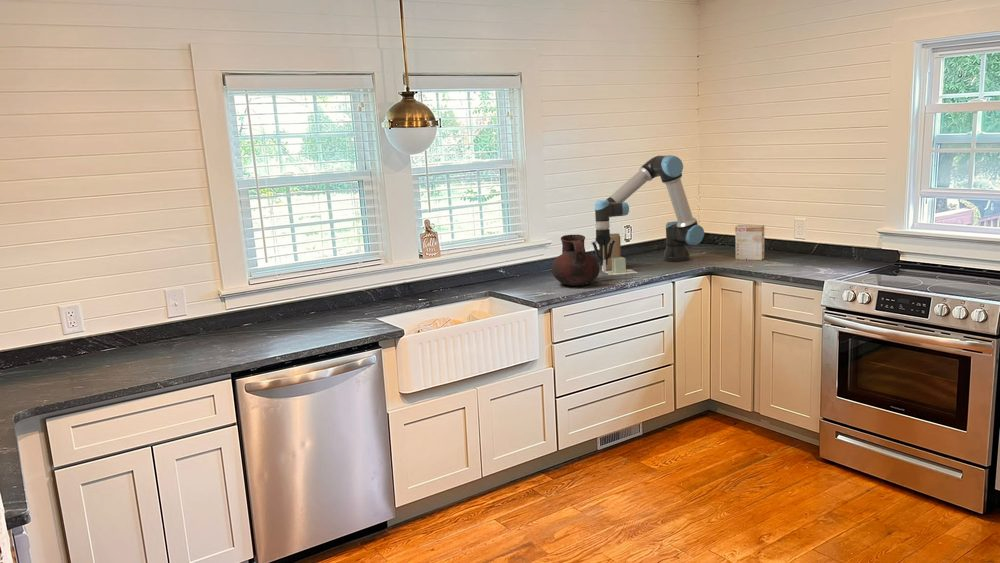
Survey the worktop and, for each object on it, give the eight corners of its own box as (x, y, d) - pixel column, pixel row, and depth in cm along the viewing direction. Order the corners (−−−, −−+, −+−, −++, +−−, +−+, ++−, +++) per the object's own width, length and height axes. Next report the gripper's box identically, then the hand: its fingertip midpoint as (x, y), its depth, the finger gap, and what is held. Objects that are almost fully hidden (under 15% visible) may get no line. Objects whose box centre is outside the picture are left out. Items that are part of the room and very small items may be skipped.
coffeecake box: (764, 258, 429) (764, 224, 425) (761, 260, 423) (762, 226, 419) (738, 257, 436) (738, 224, 433) (735, 259, 430) (735, 226, 427)
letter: (631, 269, 418) (631, 269, 418) (637, 273, 407) (637, 272, 407) (604, 272, 416) (603, 271, 416) (609, 275, 405) (609, 275, 405)
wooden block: (620, 267, 429) (619, 233, 425) (621, 270, 419) (620, 235, 415) (602, 268, 430) (601, 233, 426) (603, 271, 420) (602, 236, 416)
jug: (552, 290, 375) (550, 241, 371) (551, 281, 400) (549, 235, 395) (602, 287, 374) (600, 238, 369) (598, 278, 399) (596, 232, 394)
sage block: (622, 270, 415) (622, 256, 413) (625, 272, 409) (625, 258, 407) (612, 271, 414) (611, 257, 412) (615, 273, 408) (614, 259, 407)
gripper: (612, 227, 410) (613, 269, 415) (589, 228, 408) (590, 270, 413) (616, 228, 403) (617, 271, 407) (593, 230, 401) (594, 273, 405)
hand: (604, 271), depth 410 cm, fingers closed
